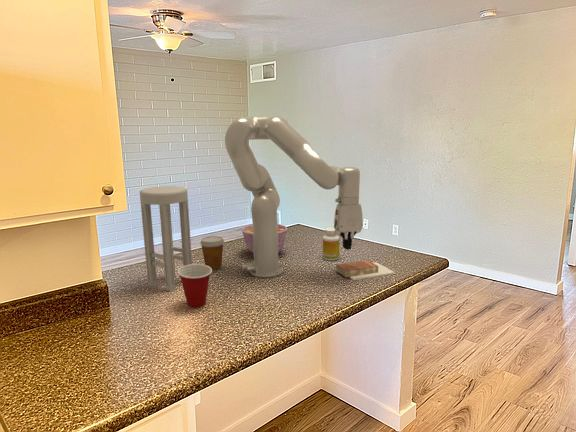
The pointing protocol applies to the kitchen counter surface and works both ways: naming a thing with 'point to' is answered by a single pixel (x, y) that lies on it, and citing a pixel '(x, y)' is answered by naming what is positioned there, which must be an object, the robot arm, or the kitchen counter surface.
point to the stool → (165, 231)
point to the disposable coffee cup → (212, 251)
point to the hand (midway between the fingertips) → (347, 248)
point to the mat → (381, 272)
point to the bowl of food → (249, 236)
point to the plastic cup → (195, 283)
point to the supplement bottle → (330, 245)
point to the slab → (356, 268)
